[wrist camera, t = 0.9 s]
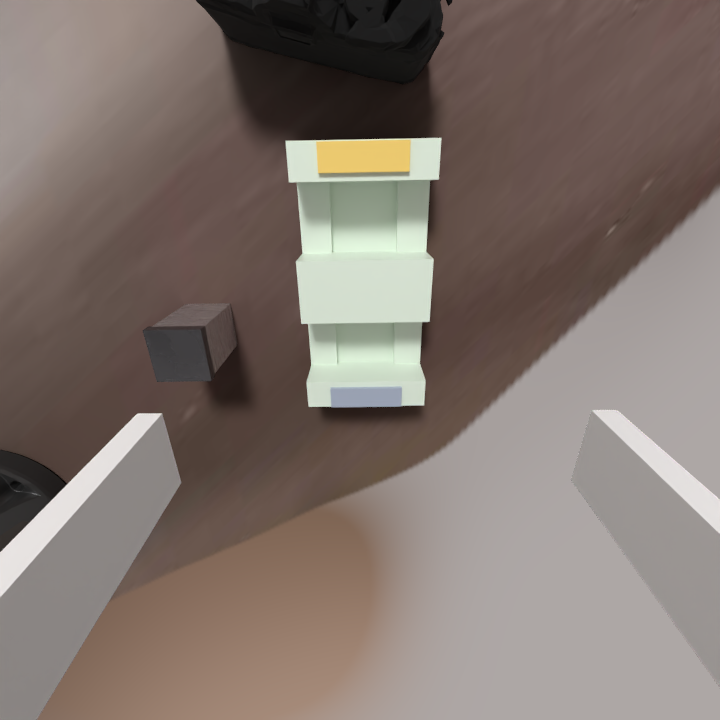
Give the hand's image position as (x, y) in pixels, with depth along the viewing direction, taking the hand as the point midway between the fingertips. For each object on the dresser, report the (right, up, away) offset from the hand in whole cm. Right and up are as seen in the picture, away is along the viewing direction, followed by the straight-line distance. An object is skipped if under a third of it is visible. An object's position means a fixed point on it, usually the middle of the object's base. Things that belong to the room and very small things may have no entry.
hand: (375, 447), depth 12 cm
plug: (-14, +6, +22) cm, 27 cm away
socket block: (0, +10, +21) cm, 23 cm away
